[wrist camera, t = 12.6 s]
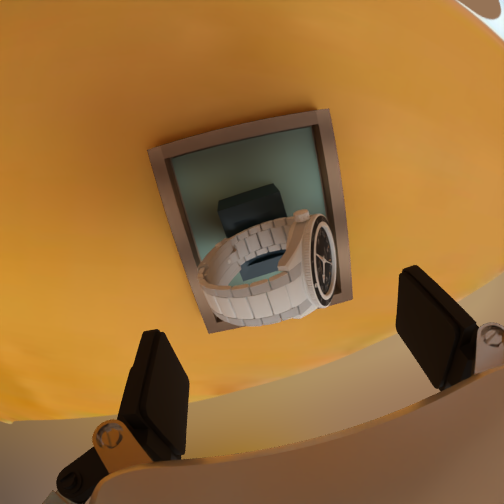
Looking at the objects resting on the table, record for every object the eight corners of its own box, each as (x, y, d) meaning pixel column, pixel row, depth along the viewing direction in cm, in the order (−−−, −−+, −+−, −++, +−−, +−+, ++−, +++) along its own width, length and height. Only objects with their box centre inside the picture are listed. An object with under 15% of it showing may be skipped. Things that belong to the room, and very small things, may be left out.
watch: (314, 239, 24) (368, 318, 14) (221, 269, 25) (218, 364, 15) (297, 174, 22) (353, 216, 12) (196, 206, 23) (171, 274, 12)
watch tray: (156, 147, 22) (147, 150, 19) (317, 110, 21) (329, 108, 19) (210, 315, 28) (208, 333, 26) (342, 283, 28) (352, 299, 25)
